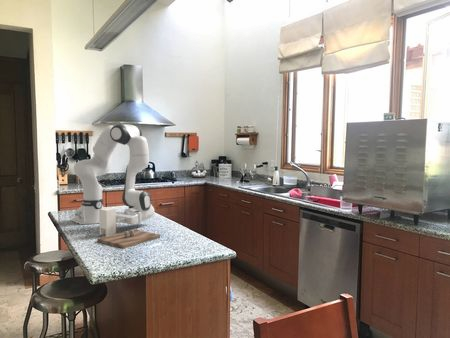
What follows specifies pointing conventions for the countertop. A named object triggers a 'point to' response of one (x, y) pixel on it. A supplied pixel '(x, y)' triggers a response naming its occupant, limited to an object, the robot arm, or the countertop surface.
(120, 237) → the stub board
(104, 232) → the housing
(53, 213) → the countertop surface
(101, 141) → the robot arm
